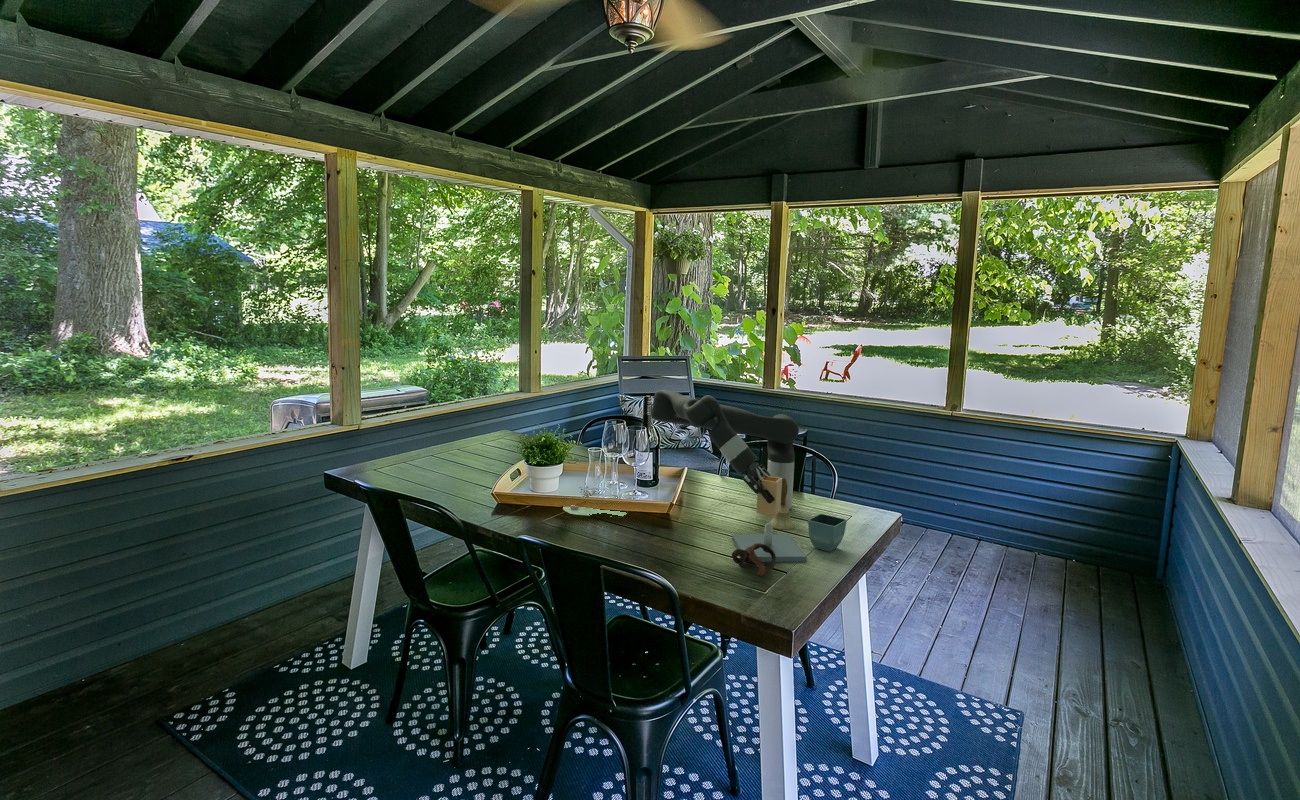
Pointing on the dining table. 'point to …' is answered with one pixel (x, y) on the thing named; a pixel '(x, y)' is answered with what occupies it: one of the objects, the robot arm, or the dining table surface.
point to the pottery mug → (755, 558)
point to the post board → (771, 545)
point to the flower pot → (826, 531)
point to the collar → (775, 489)
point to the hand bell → (783, 512)
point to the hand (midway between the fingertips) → (775, 498)
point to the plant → (589, 509)
